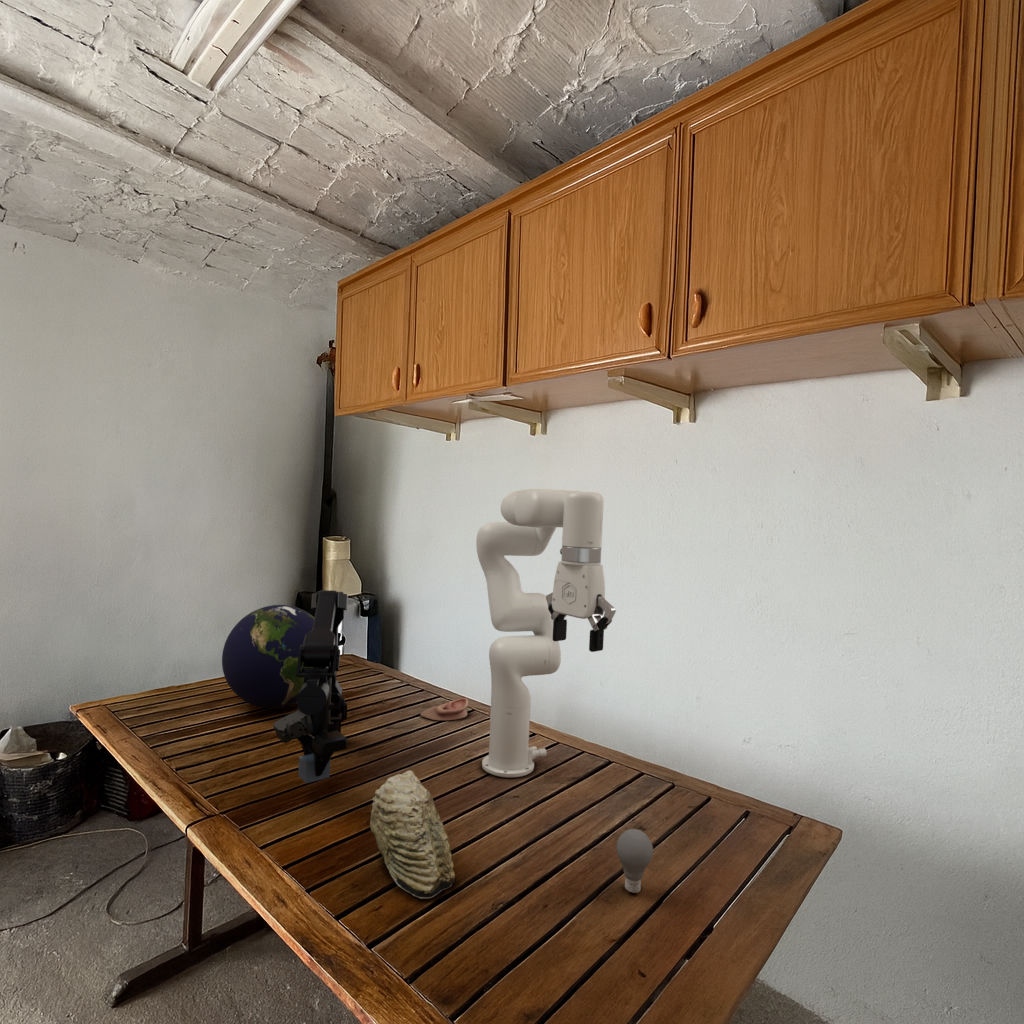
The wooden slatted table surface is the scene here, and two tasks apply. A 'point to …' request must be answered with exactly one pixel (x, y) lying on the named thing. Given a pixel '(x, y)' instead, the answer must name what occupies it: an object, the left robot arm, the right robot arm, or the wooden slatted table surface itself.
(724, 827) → the wooden slatted table surface
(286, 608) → the globe
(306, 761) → the blue-grey block
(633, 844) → the light bulb
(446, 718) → the anatomical model
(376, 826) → the fossil
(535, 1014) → the wooden slatted table surface
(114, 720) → the wooden slatted table surface
